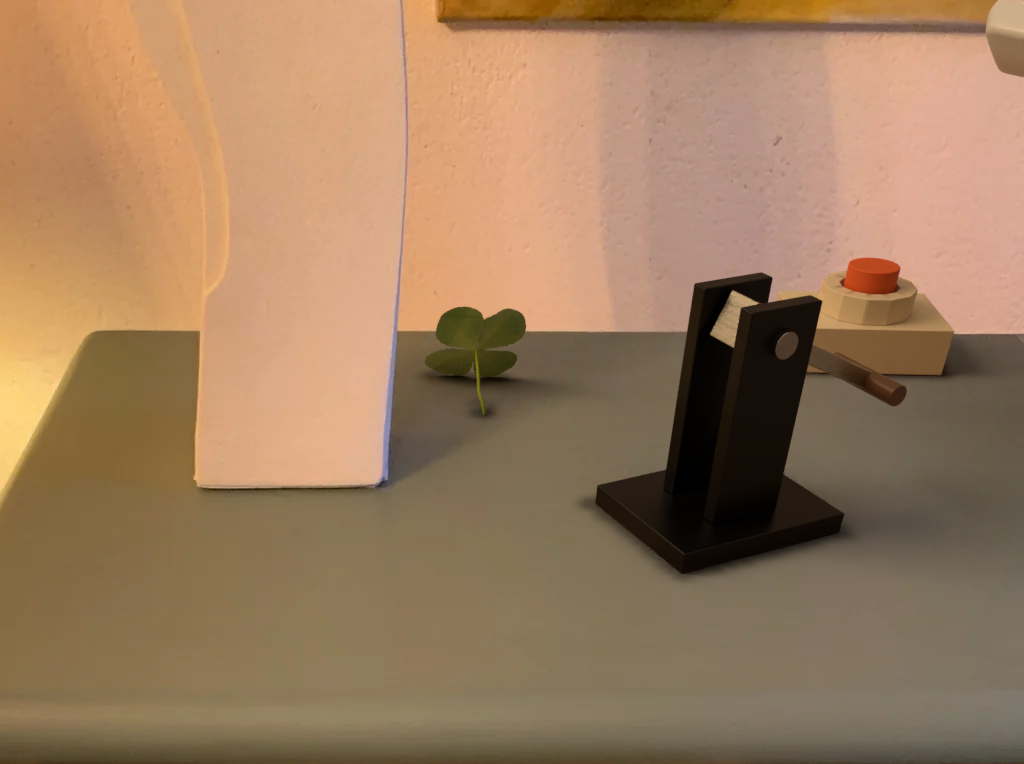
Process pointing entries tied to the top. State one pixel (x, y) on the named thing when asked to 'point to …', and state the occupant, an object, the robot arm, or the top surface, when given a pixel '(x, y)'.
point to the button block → (880, 327)
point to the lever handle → (816, 356)
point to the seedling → (476, 343)
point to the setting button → (872, 276)
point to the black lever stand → (730, 438)
